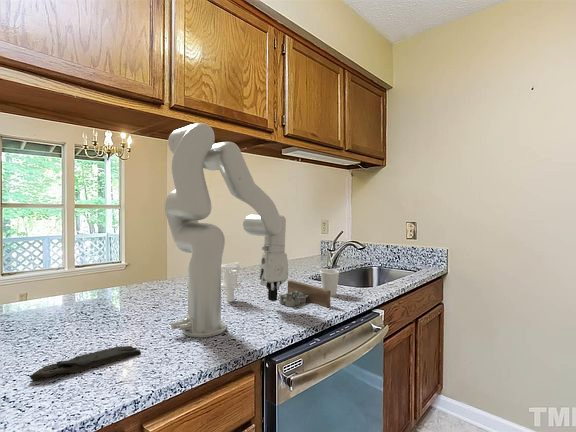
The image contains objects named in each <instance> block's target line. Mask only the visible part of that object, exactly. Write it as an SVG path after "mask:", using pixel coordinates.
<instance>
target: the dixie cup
mask: <svg viewBox="0 0 576 432" xmlns="http://www.w3.org/2000/svg"><path fill="white" fill-rule="evenodd" d="M319 272H320V280H321V288H323V289H327V290H330V291H331V297H335V296H337V291H338V284H339V276H340V270H338V269H331V268H329V269H327V268H326V269H325V268H324V269H321V270H319Z"/></svg>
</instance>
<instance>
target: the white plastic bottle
mask: <svg viewBox="0 0 576 432" xmlns="http://www.w3.org/2000/svg"><path fill="white" fill-rule="evenodd" d="M221 270H223V272H222V282H221V289H225V291H226V292H225V295H226V296H225V301H226V302H228V303H232V302H234V301H235V289H239V287H240V283H239V282H238V273H240V262H231V263H226V264H221Z"/></svg>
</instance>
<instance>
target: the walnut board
mask: <svg viewBox="0 0 576 432" xmlns="http://www.w3.org/2000/svg"><path fill="white" fill-rule="evenodd" d="M295 290H296V291H298V292H301V293H303V294H305V295H306V296H307V295H308V296H307V298H306V302H307V303H311V304H314V305H318V306H320V307H325V308H331V297H332V296H331V291H330V290H327V289H323V288H322V287H318V286H315V285H311V284H307V283H303V282H298V281H296V280H287V293H288V292H289V293H290V292H294V291H295Z"/></svg>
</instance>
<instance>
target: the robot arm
mask: <svg viewBox="0 0 576 432" xmlns="http://www.w3.org/2000/svg"><path fill="white" fill-rule="evenodd" d="M167 140H168V141H167V145H168V148H169V150H170V152H171V153H172V154H173V156H172V160H171V174H172V179H173V184H174V188H175V189H173V190H172V191H170V192H169V193H168V194H167V196H166V197H165V202H164V212H165V217H166V220H167V223H168V226H169V229H170V232H171V233H170V234H171V236H172V238H173V241H174V245H175V246H176V247H177V248H178V250H180V251H182V252H185V253H188V254H191V257H190V261H189V264H188V267H187V268H188V269H187V315H184V318H182V319H181V320H180V321H179V320H177V321H172V322H171V323H170V328H171V330H176V329H179V331H181V332H182V334H184V335H185V336H187V337H189V338H209V337H215V336H217V335H220V334H222V333H223V332H225V331H226V329H227V323H226V322H225V321H223V320H222V288H221V284H222V269H221V265H223V264H222V262H223V260H222V259H223V254H224V249H225V245H226V244H225V243H226V240H225V239H226V238H225V234H224V232H223V231H222V229H221V228H220V227H219V226H218V225H215V224H212V223H207V222H199V221H201V220H204V219H206V218H208V217H209V216H210V215H211V212H212V208H213V207H212V202H211V201H212V200H211V198H210V193H209V188H208V185H207V182H206V176H205V173H204V169H205V170H208V171H214V172H215V171H219V173H220V174H221V177H222V178H223V180H224V183H225V184H226V186H227V189H228V191H229V193H230V194H231V195H232V197H235V198H236V199H238V200H239V201H242V202H244V203H245V204H247V205H248V206H250V207H251V208H252V209H253V210H254V211H255V212H256V213H251V214H249V215H247V216H246V217H244V219H243V221H242V228H243V230H244V232H245V233H247V234H249V235H250V236H251V235H252V236H259V237H261V236H262V237H264V243H263V246H262V247H261V250H262V251H263V252H262V254H261V259H260V266H259V280H260V281H259V282H260V286H265V287H266V289H267V290H268V291H267V300H268V301H271V302H277V301H278V290H279V289H280V287H281V285H282V284H284V283H286V281H288V278H289V262H288V261H289V260H288V254H287V253H286V252H285V250H286V231H287V230H286V227H287V226H286V225H287V224H286V223H287V219H286V216H285V215H280V213H279V210H278V208H277V206H276V204H275V201H273V199H272V198H271V197H270V196H269V195H268V194H267V193H266V192H265V191H264V190H263V189H262V188H261V187H260V186H258V185H257V184H256V183H255V180H254V178H253V176H252V174H251V172H250V169H249V167H248V165H247V162H246V160H245V158H244V156H243V154H242V151H241V149H240V147H239V146H238V145H237V144H236V143H235V142H232V141H222V142H217V143H215V132H214V130H213V128H212V127H211V126H210V125H209V124H207V123H203V122H198V123H193V124H189V125H186V126H183V127H181V128H178V129H175V130H173V131H172V132H171V133H170V134H169V136H168V139H167Z"/></svg>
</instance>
